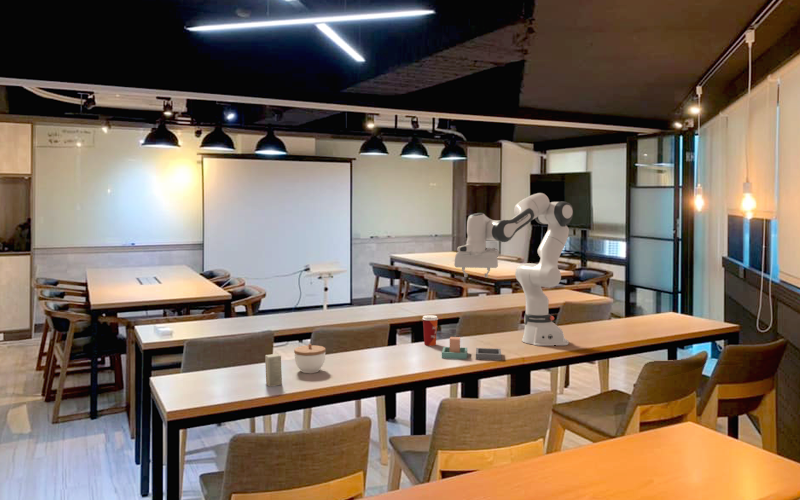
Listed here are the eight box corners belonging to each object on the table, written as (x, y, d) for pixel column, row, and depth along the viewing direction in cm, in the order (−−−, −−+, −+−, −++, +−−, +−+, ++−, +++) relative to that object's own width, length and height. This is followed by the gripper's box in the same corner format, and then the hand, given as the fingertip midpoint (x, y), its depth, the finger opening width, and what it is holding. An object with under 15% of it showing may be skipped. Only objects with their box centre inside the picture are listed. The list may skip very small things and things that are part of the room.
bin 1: (467, 353, 265) (467, 347, 265) (466, 358, 254) (466, 353, 254) (443, 352, 267) (443, 346, 267) (441, 358, 256) (441, 352, 256)
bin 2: (500, 354, 263) (500, 348, 263) (501, 360, 252) (501, 354, 252) (476, 353, 265) (476, 347, 265) (475, 359, 254) (475, 353, 254)
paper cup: (436, 346, 278) (436, 318, 277) (421, 346, 279) (421, 317, 278) (439, 343, 285) (439, 315, 284) (423, 342, 287) (423, 314, 286)
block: (460, 354, 263) (460, 337, 262) (459, 357, 258) (459, 339, 257) (450, 354, 263) (450, 336, 263) (449, 356, 259) (449, 339, 258)
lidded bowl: (288, 371, 235) (287, 344, 234) (312, 365, 244) (312, 339, 244) (307, 377, 226) (307, 349, 226) (332, 370, 236) (332, 343, 235)
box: (278, 381, 220) (278, 353, 219) (282, 384, 216) (281, 355, 215) (265, 383, 217) (264, 354, 217) (268, 386, 214) (267, 357, 213)
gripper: (498, 247, 272) (498, 276, 273) (455, 247, 275) (454, 276, 276) (498, 248, 266) (498, 278, 266) (454, 248, 269) (454, 277, 269)
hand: (475, 277), depth 271 cm, fingers open, 8 cm apart
